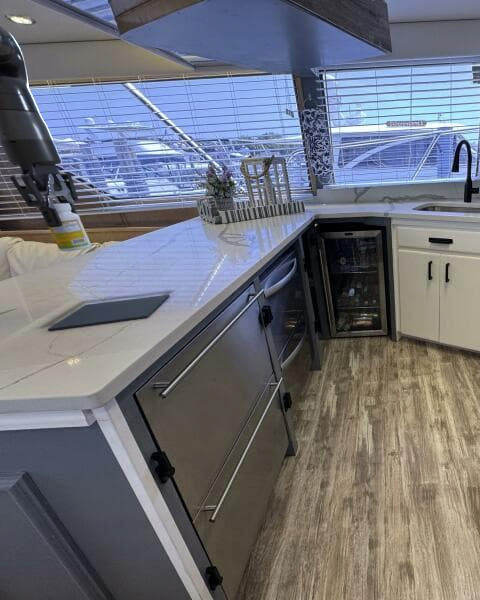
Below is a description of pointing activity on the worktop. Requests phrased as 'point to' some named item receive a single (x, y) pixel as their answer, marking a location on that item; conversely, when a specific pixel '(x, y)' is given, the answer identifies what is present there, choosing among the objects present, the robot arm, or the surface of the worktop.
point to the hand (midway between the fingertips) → (65, 224)
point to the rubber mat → (111, 312)
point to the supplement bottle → (69, 230)
